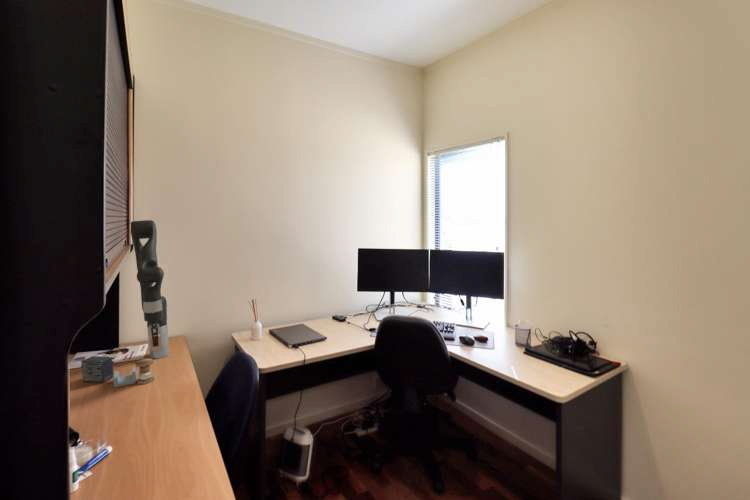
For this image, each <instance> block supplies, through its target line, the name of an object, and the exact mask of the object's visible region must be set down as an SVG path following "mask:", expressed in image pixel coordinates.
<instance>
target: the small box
mask: <svg viewBox="0 0 750 500" xmlns="http://www.w3.org/2000/svg"><path fill="white" fill-rule="evenodd" d="M113 365H114V364H113V357H112V356H99V355H98V356H97V355H91V356H89V357H87V358H85V359H82V360H81V368H82V369H81V370H82V377H83V378H82V379H83V383H95V384H96V383H97V384H104V383H106V382H108V381H110V380H111V379H113V378H114V368H113Z"/></svg>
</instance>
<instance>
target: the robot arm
mask: <svg viewBox="0 0 750 500" xmlns="http://www.w3.org/2000/svg"><path fill="white" fill-rule="evenodd" d="M130 223H131V231H130V235H131V239H132V244H133V247H134V253H135V262H136V270H137V272H136V279H137V282H138V283H139V285H140V286H139V288H140V297H141V300H140V301H141V309H142V311H143V320H144V322H147V324H146V326H147V339H148V340H147V341H148V351H149V358H150V359H162V358H165V357H166V356H167V357H168V355H169V354H170V348H169V347H170V346H169V334H168V321H167V320H168V314H167V311H168V309H167V307H168V306H167V305H168V303H167V299H166V297H165V296H163V295H162V293H161V290H162V283H163V279H164V276H165V275H164V274H165V273H164V270H163V268H161V266H160V267H159V266H158V256H157V255H158V254H157V242H158V241H157V237H158V235H157V226H156V223H155V221H154V220H152V219H150V220H149V219H148V220H147V219H146V220H134V221H131V222H130ZM144 239H147V241H146V242H145V243H144V245H143V243H142V242H141V240H144ZM155 335H157V336H155ZM158 335H160V341H161V349H157V350H151V342H150V336H152V339H153V347H156V346H158V338H159V337H158Z"/></svg>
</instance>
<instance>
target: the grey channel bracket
mask: <svg viewBox="0 0 750 500" xmlns="http://www.w3.org/2000/svg"><path fill="white" fill-rule="evenodd" d="M113 376H114V377H113V378H112V379H113V385H114V388H118V387H122V386H126V385H127V386H128V385H132V384H137V367H136V366H135V367H132V369H131V374H128V375H122V376H120V371H119V370H114V373H113Z"/></svg>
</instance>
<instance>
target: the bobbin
mask: <svg viewBox="0 0 750 500" xmlns="http://www.w3.org/2000/svg"><path fill="white" fill-rule="evenodd" d="M153 363H154V358H150V357H149V358H143V359H140V360H136V362H135V367H136V368H139V372H138V378H136V384H138V385H147V384H150V383H151V382H154V381H155V375H153V374H152V369H151V365H152V364H153Z"/></svg>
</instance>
